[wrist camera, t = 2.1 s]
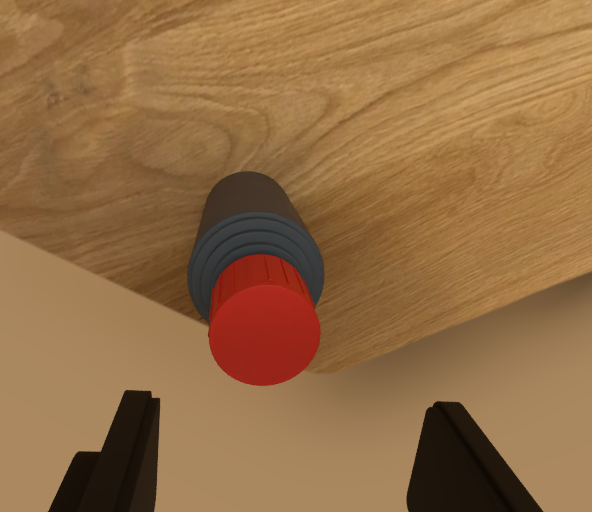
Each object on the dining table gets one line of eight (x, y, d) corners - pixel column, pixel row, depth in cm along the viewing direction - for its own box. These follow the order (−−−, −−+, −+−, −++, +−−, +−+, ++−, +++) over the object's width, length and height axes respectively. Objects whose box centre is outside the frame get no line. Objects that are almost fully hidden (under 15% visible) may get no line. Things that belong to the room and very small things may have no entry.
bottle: (201, 251, 36) (168, 407, 17) (207, 166, 34) (177, 238, 15) (285, 258, 37) (338, 411, 18) (295, 176, 35) (365, 253, 16)
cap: (208, 338, 20) (204, 385, 17) (215, 248, 19) (212, 279, 16) (300, 342, 21) (313, 389, 17) (312, 256, 20) (328, 287, 16)
